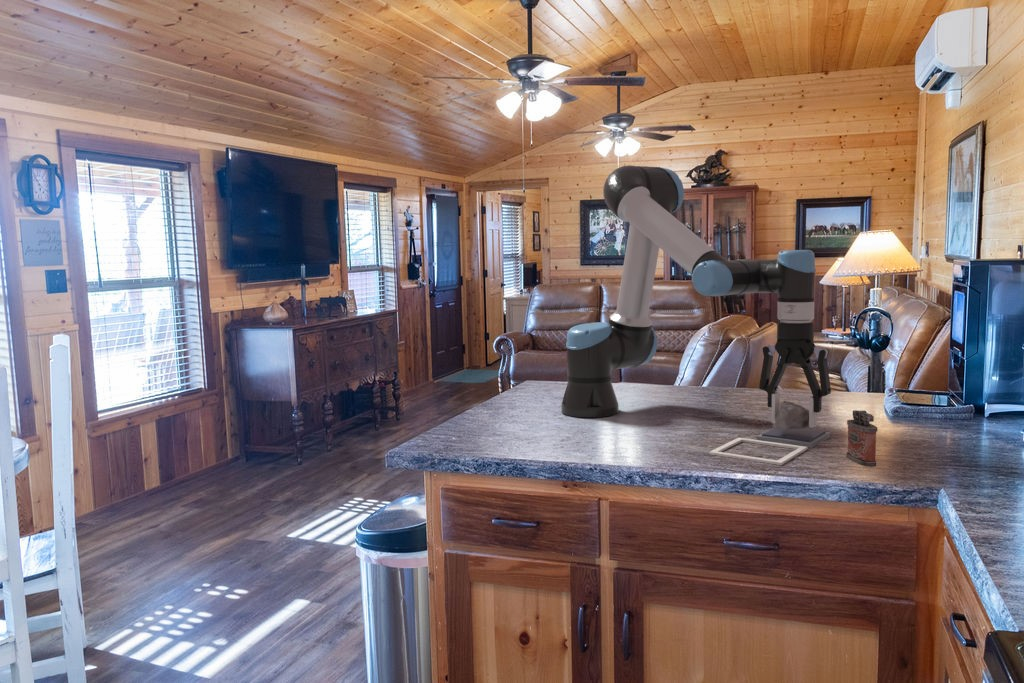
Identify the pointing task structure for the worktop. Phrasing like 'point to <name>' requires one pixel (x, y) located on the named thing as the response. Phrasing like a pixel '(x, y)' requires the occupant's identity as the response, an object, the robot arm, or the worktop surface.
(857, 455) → the lighter
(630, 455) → the worktop surface
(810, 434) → the ink pad
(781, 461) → the white flat square frame
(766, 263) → the robot arm
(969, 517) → the worktop surface
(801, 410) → the stone
